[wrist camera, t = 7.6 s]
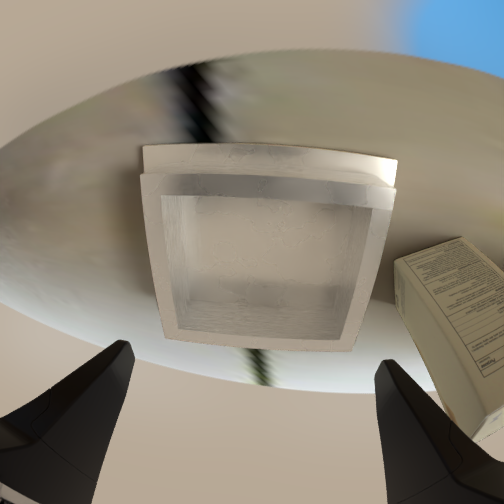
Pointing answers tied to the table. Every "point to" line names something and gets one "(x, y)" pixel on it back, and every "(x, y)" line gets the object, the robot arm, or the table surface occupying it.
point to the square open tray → (265, 242)
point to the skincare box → (457, 329)
